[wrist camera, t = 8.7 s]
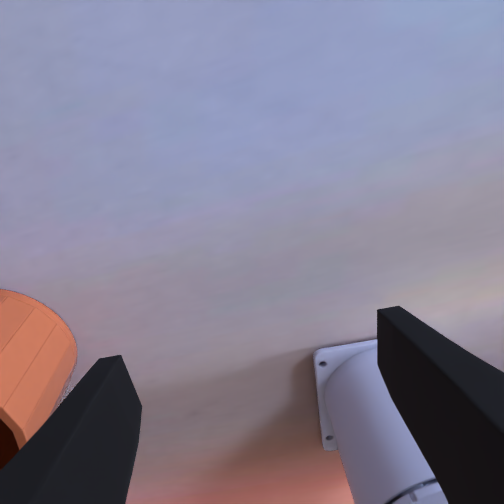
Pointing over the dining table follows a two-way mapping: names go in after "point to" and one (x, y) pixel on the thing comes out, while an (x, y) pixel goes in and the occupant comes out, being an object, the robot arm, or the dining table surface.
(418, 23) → the dining table surface
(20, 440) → the cup
